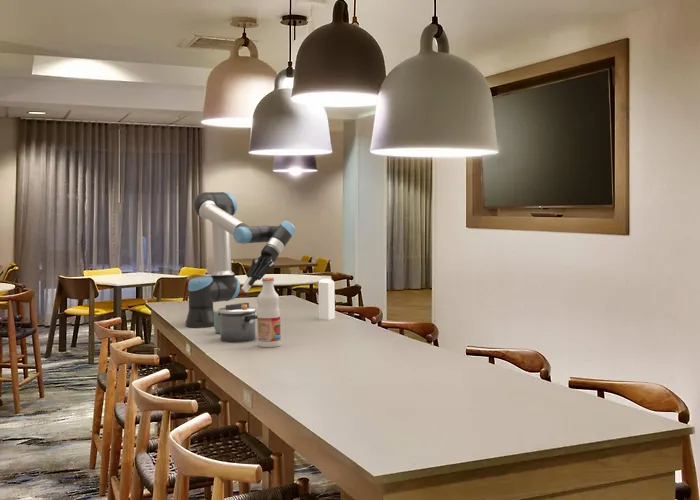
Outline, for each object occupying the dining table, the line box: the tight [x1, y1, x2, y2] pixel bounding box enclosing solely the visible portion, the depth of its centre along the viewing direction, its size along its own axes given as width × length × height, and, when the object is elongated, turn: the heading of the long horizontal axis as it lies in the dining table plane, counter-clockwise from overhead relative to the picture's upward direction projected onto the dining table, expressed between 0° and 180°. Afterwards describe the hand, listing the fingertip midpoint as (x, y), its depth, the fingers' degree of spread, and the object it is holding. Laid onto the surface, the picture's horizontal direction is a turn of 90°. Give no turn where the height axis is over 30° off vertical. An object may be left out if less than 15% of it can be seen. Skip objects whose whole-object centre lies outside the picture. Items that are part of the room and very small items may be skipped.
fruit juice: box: [256, 277, 282, 348], centre depth 315 cm, size 9×9×28 cm
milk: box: [317, 275, 336, 321], centre depth 388 cm, size 6×6×22 cm
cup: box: [213, 309, 220, 334], centre depth 350 cm, size 8×8×10 cm
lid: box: [218, 302, 257, 314], centre depth 332 cm, size 16×16×3 cm
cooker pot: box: [219, 312, 257, 343], centre depth 332 cm, size 15×20×12 cm
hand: (244, 290), depth 334 cm, fingers closed
